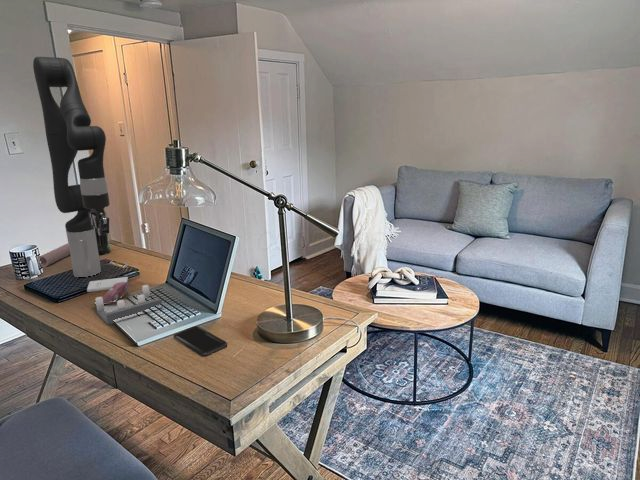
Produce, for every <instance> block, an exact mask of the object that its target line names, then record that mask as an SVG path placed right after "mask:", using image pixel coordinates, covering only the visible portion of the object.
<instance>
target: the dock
mask: <svg viewBox="0 0 640 480" xmlns="http://www.w3.org/2000/svg"><path fill="white" fill-rule="evenodd" d="M141 289H142V291H141V292H142V294H138V295H137V296H136V297H137V304H134V305H130V306H127V307H126V303H125V299H119V300H118V299H117V301H116V306H117V309H116V310H113V311H109V312H106V310H105V305H104V303H103V296H97V297H95V298H94V299H95V306H96V313H97V314H98V316H99V317H100V318H101V319H102V320H103V321H104V322H105V323H106V324H107V326H108V325H112V324H115V323H114V322H113V320H115V319H118V318H122V317H125V316H129V315H132V314H135V313H138V312H141V311H144V310H146V309H149V308H151V307H154V306H156V305H159V304H161V303H162V299H160V297H158V298H153V299H154V300H151V301H147V302H145V297H149V296H150V297H151V293H150V286H149V284H143V285H141ZM104 310H105V311H104ZM97 314H96V315H97Z"/></svg>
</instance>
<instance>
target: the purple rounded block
mask: <svg viewBox="0 0 640 480" xmlns="http://www.w3.org/2000/svg"><path fill="white" fill-rule="evenodd" d="M130 286H131V284H130V283H127V282H124V281H122V282H119V283H116V284H114V285H113V287H112V288H110V289H108V290H107V291H106V292H105V294H104V295H102V297H103V303H108V304H109V303H111V302H112V301H114V300H116V299H117V298H118V297H121V296H123V297H124V296H125V294H126V292H128V290H129V289H130ZM118 299H119V298H118ZM118 299H117V300H118Z"/></svg>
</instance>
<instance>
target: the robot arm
mask: <svg viewBox="0 0 640 480" xmlns="http://www.w3.org/2000/svg"><path fill="white" fill-rule="evenodd" d="M32 65H33V73H34V79H35V82H36V86H37V91H38V94H39V100H40V105H41V109H42V115H43V116H42V117H43V122H44V123H43V124H44V129H45V136H46V143H47V147H48V152H49V157H50V163H51V170H52V183H53V194H54V200H55V204H56V207H57V209H58V211H59V212H60V213H62V214H69V213H74V212H75V213H76V214H75V216H74V217H73V218H71V219H69V220H67V221H66V222H65V225H64V226H65V232H66V238H67V243H68V245H69V250H70V255H69V256H70V261H71V267H72V273H73V276H74V277H75V278H78V277H86V278H89V277H88V276H91V277H94V276H93V275H95V276H97V275H96V274H98V273H99V274H101V273H102V268H101V261H100V255H99V254H98V247H97V243H98V244H100V245H101V246H102V247H103V246H107V245H108V240H107V234H108V235H109V234H110V218H109V216H107V212H105V208H107V207H109V206H110V198H109V190H108V184H107V183H108V182H107V180H106V176H105V175H106V174H105V169H104V154H105V153H104V152H105V148H106V141H107V137H106V133H105V131H104V130H103V129H102V127H100V126H97V125H91V124H92V119H91V116H90V115H89V112H88V110H87V108H86V106H85V104H84V101H83V99H82V95H81V91H80V88H79V83H78V80H77V76H76V74H75V73H76V72H75V70H74V67H73V65H72V63H71V62H70V61H69V60H68V58H64V57H53V56H35V57H34V58H33V63H32ZM51 88H66V91H65V93H63V95H62V98H61V99H60V103H59V104H58V103H57V102H56V101H55V98H54V96H53V94H52V91H51ZM78 151H80V152H81V151H92V152H91V155H89V156H86V157H84V158H80V159H78V161H77V169H78V174H79V184H71V185H69V174H70V173H69V172H70V169H71V167H72V164H73V163H74V160H75V158H76V157H77V154H78ZM103 229H104V230H103ZM100 272H101V273H100ZM99 274H98V275H99Z"/></svg>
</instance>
